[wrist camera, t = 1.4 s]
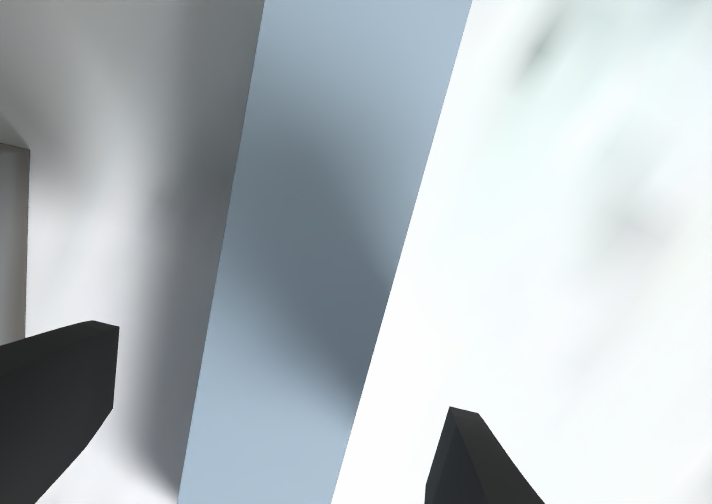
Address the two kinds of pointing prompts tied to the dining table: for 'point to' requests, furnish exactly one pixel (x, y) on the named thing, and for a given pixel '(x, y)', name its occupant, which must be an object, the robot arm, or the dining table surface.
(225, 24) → the dining table surface
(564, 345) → the dining table surface
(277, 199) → the beam
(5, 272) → the stand
